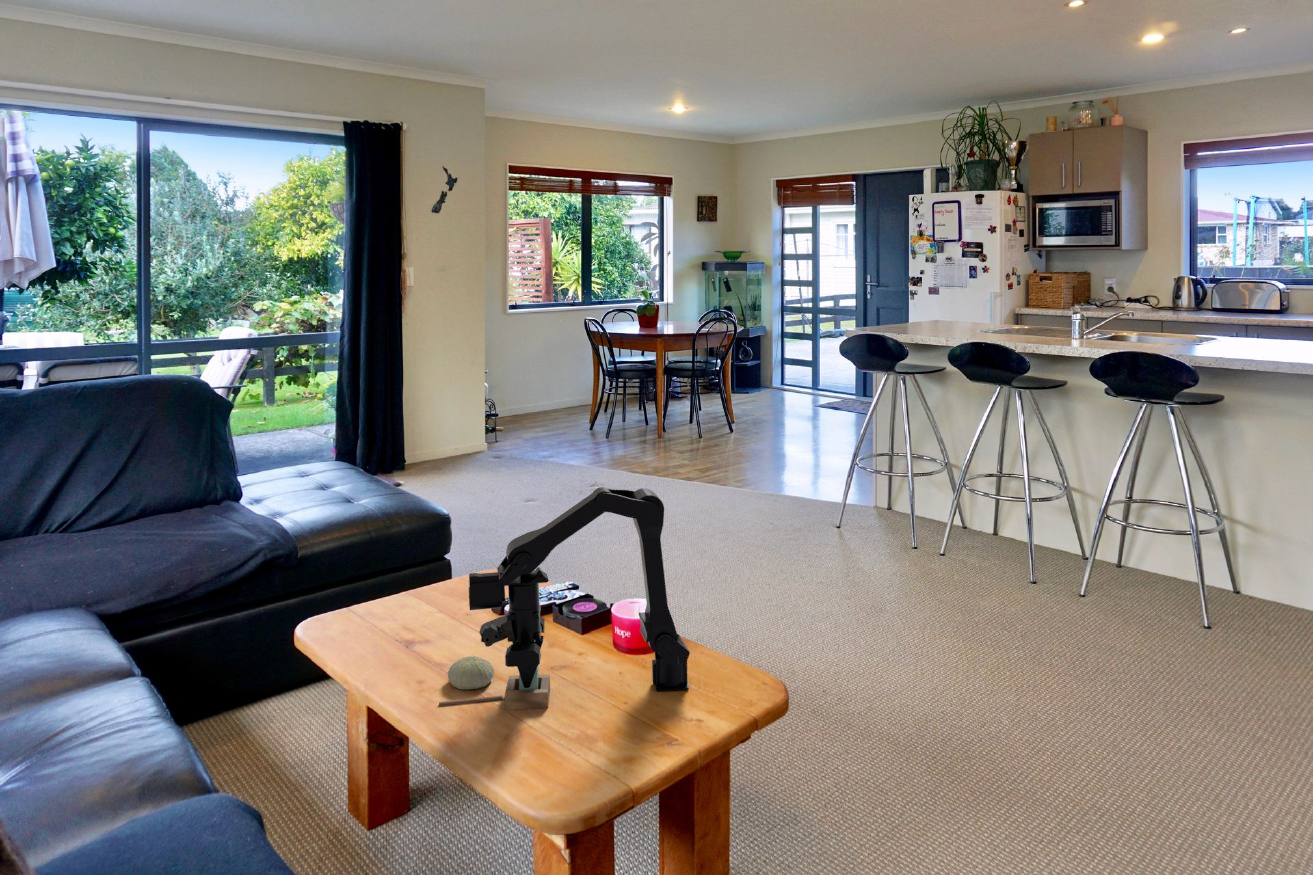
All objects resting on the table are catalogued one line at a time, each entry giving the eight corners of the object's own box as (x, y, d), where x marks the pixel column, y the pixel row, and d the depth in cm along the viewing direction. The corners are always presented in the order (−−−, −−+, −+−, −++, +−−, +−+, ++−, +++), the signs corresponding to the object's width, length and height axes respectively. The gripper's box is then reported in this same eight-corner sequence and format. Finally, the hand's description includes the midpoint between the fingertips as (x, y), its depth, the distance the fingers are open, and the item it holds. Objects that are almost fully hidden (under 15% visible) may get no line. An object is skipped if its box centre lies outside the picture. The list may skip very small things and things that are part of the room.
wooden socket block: (550, 689, 185) (549, 674, 185) (548, 707, 178) (547, 692, 177) (509, 690, 185) (508, 675, 184) (505, 709, 177) (504, 693, 177)
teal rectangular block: (538, 695, 183) (538, 654, 182) (536, 703, 180) (537, 661, 178) (520, 695, 183) (520, 654, 182) (519, 703, 180) (519, 661, 178)
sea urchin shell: (449, 688, 183) (446, 649, 187) (449, 702, 189) (446, 664, 193) (496, 681, 185) (492, 643, 189) (495, 696, 191) (490, 659, 196)
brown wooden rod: (502, 697, 182) (502, 695, 182) (502, 699, 182) (502, 696, 181) (439, 704, 180) (439, 701, 180) (439, 705, 179) (439, 703, 179)
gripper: (487, 589, 187) (491, 663, 189) (475, 625, 168) (479, 706, 171) (543, 587, 187) (546, 661, 190) (537, 622, 169) (541, 703, 172)
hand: (527, 681), depth 181 cm, fingers open, 5 cm apart
